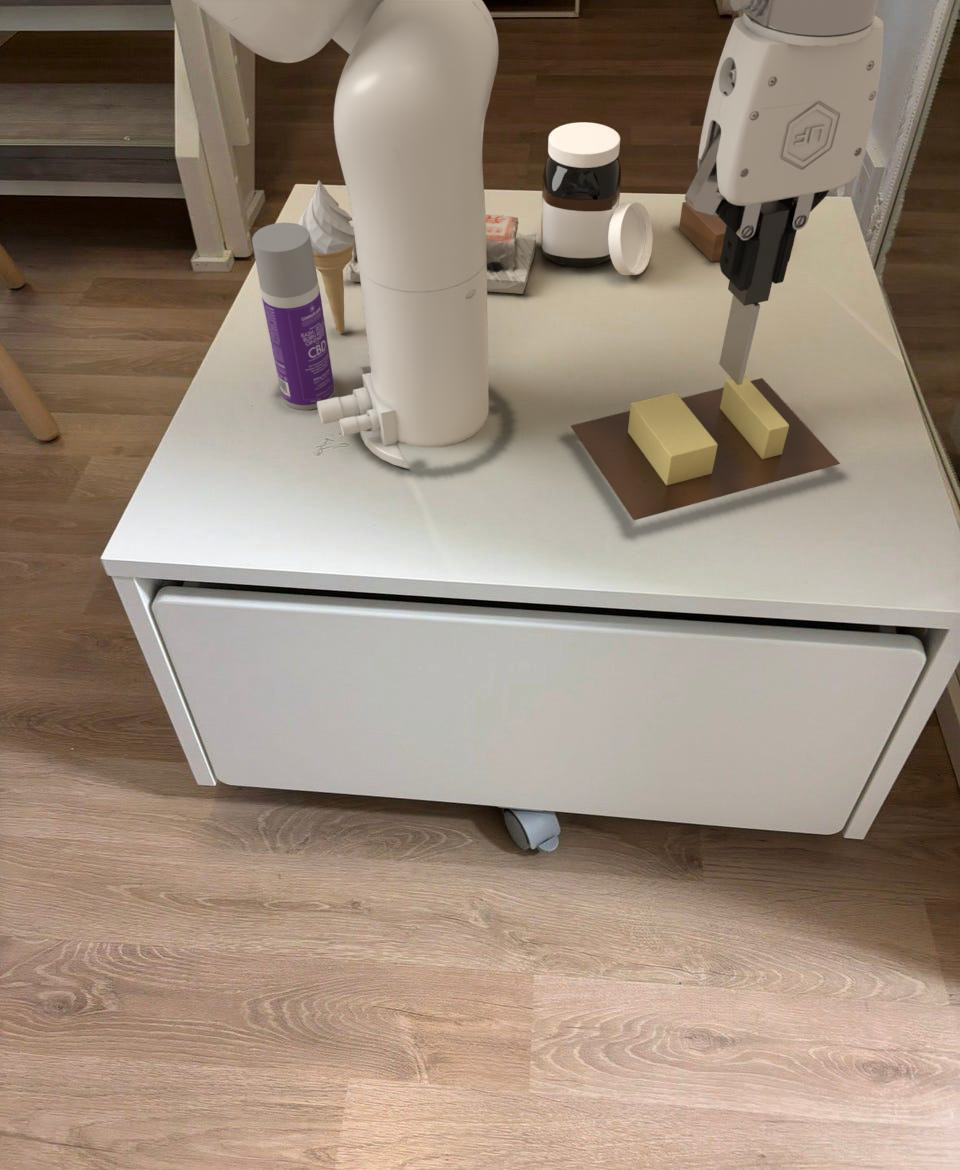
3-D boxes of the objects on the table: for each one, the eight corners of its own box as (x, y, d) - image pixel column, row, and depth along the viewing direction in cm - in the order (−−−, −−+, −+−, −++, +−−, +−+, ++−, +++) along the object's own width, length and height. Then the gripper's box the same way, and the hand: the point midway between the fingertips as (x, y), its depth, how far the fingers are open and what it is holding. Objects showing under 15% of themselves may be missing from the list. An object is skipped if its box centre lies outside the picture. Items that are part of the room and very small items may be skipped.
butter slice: (762, 460, 81) (769, 430, 79) (719, 408, 86) (725, 379, 83) (782, 454, 82) (789, 425, 79) (738, 403, 86) (744, 374, 84)
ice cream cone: (358, 354, 94) (338, 199, 83) (301, 345, 95) (274, 191, 84) (378, 320, 98) (362, 168, 87) (323, 313, 99) (300, 161, 88)
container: (325, 413, 88) (300, 255, 77) (274, 407, 89) (241, 249, 78) (341, 380, 92) (318, 224, 80) (291, 375, 92) (262, 219, 81)
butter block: (666, 486, 79) (671, 456, 77) (627, 432, 84) (630, 402, 82) (712, 473, 80) (718, 444, 78) (671, 421, 85) (675, 391, 82)
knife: (728, 387, 79) (766, 216, 68) (709, 365, 80) (743, 196, 70) (751, 382, 79) (792, 211, 69) (732, 360, 81) (769, 191, 71)
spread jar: (543, 224, 110) (546, 113, 101) (649, 227, 109) (662, 116, 100) (536, 284, 102) (539, 170, 93) (651, 289, 101) (665, 174, 92)
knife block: (712, 263, 104) (717, 236, 101) (677, 228, 109) (681, 201, 106) (757, 253, 105) (763, 226, 103) (721, 219, 110) (725, 192, 107)
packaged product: (340, 240, 99) (364, 190, 105) (346, 284, 102) (369, 234, 109) (526, 251, 96) (538, 200, 103) (525, 297, 100) (537, 245, 107)
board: (631, 534, 78) (633, 520, 77) (569, 439, 86) (570, 425, 84) (836, 477, 82) (840, 463, 81) (759, 391, 89) (762, 377, 88)
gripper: (722, 37, 56) (675, 327, 69) (966, 0, 59) (875, 283, 73) (660, -9, 60) (628, 271, 74) (889, -40, 64) (818, 232, 78)
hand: (751, 275), depth 73 cm, fingers closed on knife, 2 cm apart
